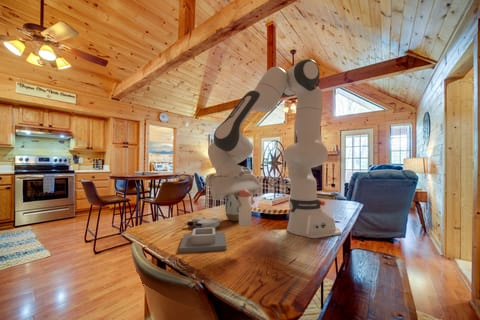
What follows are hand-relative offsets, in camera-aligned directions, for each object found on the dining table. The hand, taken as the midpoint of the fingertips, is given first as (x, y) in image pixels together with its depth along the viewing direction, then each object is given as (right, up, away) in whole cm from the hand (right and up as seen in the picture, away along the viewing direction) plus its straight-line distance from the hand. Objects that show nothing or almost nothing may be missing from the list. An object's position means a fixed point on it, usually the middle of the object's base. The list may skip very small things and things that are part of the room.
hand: (245, 204), depth 72 cm
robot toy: (-19, -16, +24) cm, 35 cm away
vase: (-4, -16, +36) cm, 40 cm away
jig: (-16, -16, +7) cm, 23 cm away
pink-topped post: (0, -7, +1) cm, 7 cm away
